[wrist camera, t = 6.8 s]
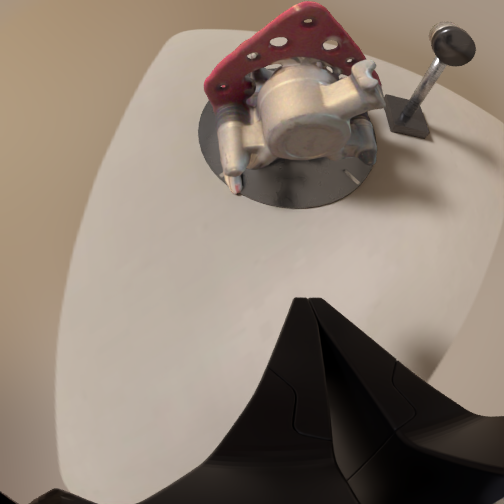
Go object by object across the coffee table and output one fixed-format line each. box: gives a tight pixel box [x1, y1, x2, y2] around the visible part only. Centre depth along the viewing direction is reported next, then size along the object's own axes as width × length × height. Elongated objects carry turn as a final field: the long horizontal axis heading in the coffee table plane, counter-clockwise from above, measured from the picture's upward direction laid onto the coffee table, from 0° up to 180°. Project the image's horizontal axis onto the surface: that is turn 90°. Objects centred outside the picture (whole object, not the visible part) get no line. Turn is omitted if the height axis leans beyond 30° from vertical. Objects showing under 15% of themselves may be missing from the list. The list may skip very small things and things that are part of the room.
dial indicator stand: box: [384, 22, 476, 139], centre depth 15 cm, size 4×4×12 cm
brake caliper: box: [204, 1, 386, 194], centre depth 16 cm, size 11×11×12 cm
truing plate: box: [198, 68, 376, 208], centre depth 20 cm, size 14×14×1 cm
